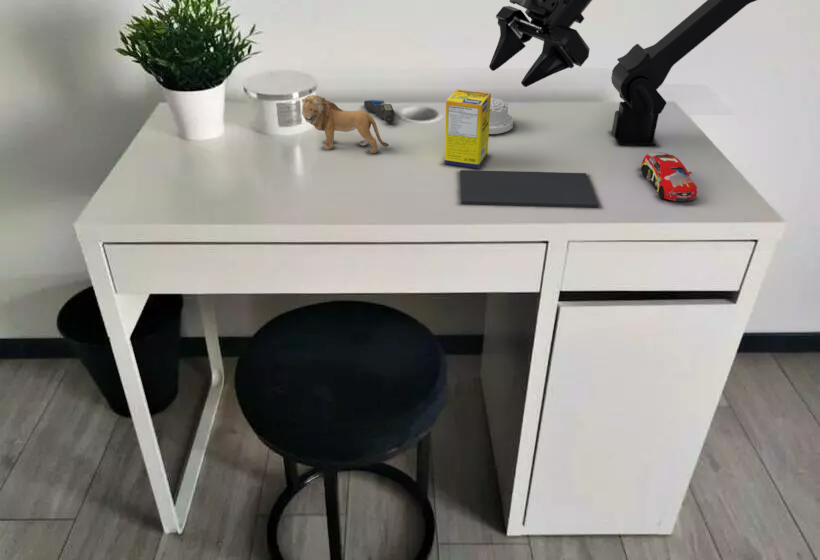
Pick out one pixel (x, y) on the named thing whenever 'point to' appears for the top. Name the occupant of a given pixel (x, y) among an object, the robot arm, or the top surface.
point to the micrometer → (380, 109)
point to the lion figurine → (339, 121)
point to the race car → (669, 177)
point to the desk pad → (526, 188)
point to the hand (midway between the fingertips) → (506, 76)
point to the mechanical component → (499, 117)
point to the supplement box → (467, 128)
